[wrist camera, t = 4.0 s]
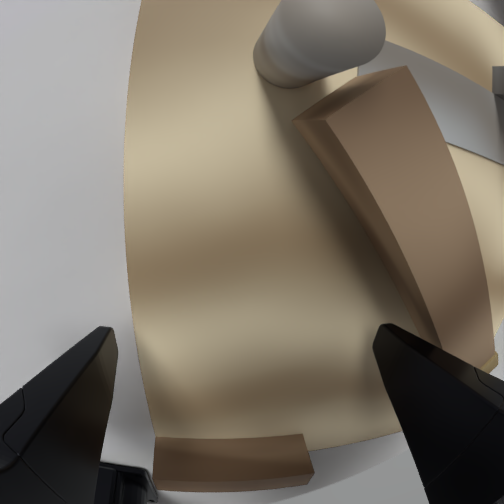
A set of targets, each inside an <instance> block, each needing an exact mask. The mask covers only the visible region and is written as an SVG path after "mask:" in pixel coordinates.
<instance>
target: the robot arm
mask: <svg viewBox="0 0 504 504" xmlns="http://www.w3.org/2000/svg"><path fill="white" fill-rule="evenodd" d="M372 349H373V353H374V356H375V359H376V362H377V365H378V368H379V371H380V375H381V378H382V381H383V384H384V387H385V389H386V392H387V394H388V397H389V399H390V401H391V404H392V406H393V408H394V411H395V413H396V416H397V418H398V421H399V423H400V425H401V428H402V430H403V433H404V435H405V438H406V441H407V443H408V446H409V448H410V451H411V453H412V456H413V459H414V461H415V464H416V467H417V469H418V472H419V475H420V478H421V481H422V483H423V486H424V487H425V488H424V490H425V492H426V495H427V498H428V501H429V504H504V381H503V380H501V379H499V378H496V377H494V376H492V375H490V374H488V373H486V372H484V371H482V370H480V369H479V368H477V367H473V365H471V364H469V363H467V362H465V361H463V360H461V359H459V358H458V357H456V356H454V355H452V354H450V353H448V352H446V351H444V350H442V349H440V348H439V347H437V346H435V345H433V344H431V343H429V342H427V341H425V340H423V339H421V338H420V337H418V336H416V335H414V334H412V333H410V332H408V331H406V330H404V329H402V328H401V327H399V326H397V325H395V324H393V323H385V324H381V325H380V326H379V328H378V330H377V333H376V336H375V338H374V341H373V345H372ZM117 360H118V347H117V343H116V338H115V334H114V330H113V328H111V327H104V326H99V327H98V328H96V329H95V330H94V331H92V332H91V333H90V334H88V335H87V336H86V337H84V338H83V339H82V340H81V341H79V342H78V343H77V344H75V345H74V346H73V347H72V348H70V349H69V350H68V351H66V352H65V353H64V354H63V355H61V356H60V357H59V358H58V359H56V360H55V361H54V362H52V363H51V364H50V365H49V366H47V367H46V368H45V369H44V370H42V371H41V372H40V373H39V374H37V375H36V376H35V377H34V378H32V379H31V380H30V381H29V382H27V383H26V384H25V385H24V386H23V387H22V388H23V389H22V388H20V389H19V390H17V391H16V392H15V393H14V394H13V395H11V396H10V397H9V398H7V399H6V400H5V401H4V402H2V403H1V404H0V504H147V502H151V503H157V502H158V497H157V495H156V493H155V491H154V488H153V486H152V484H151V482H150V480H149V477H148V475H147V473H146V471H144V470H142V469H138V468H130V467H123V466H116V465H110V464H104V463H100V458H101V453H102V447H103V442H104V437H105V432H106V427H107V423H108V418H109V413H110V409H111V404H112V399H113V392H114V383H115V375H116V367H117Z"/></svg>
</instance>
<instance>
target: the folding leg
mask: <svg viewBox="0 0 504 504" xmlns="http://www.w3.org/2000/svg"><path fill="white" fill-rule="evenodd" d="M291 121H292V123H293V124H294V125H295V127H296V128H297V129H298V131H299V132H300V133H301V135H302V136H303V138H304V139H305V140H306V142H307V143H308V145H309V146H310V147H311V149H312V150H313V152H314V153H315V155H316V156H317V157H318V159H319V160H320V162H321V163H322V165H323V166H324V168H325V169H326V171H327V172H328V174H329V175H330V177H331V178H332V180H333V181H334V183H335V184H336V186H337V187H338V189H339V190H340V192H341V193H342V195H343V197H344V198H345V200H346V201H347V203H348V204H349V206H350V208H351V209H352V211H353V212H354V214H355V216H356V217H357V219H358V221H359V222H360V224H361V226H362V227H363V229H364V231H365V232H366V234H367V236H368V237H369V239H370V241H371V243H372V244H373V246H374V248H375V250H376V251H377V253H378V255H379V257H380V259H381V260H382V262H383V264H384V266H385V268H386V269H387V271H388V273H389V275H390V277H391V279H392V281H393V283H394V284H395V286H396V288H397V290H398V292H399V294H400V296H401V298H402V300H403V302H404V304H405V306H406V308H407V310H408V312H409V314H410V316H411V318H412V320H413V323H414V325H415V327H416V329H417V331H418V333H419V335H420V338H421V339H423V340H425V341H427V342H429V343H431V344H433V345H435V346H437V347H439V348H440V349H442V350H444V351H446V352H448V353H450V354H452V355H454V356H456V357H458V358H459V359H461V360H463V361H465V362H467V363H469V364H471V365H473V367H477V368H479V369H480V370H482V371H484V372H486V373H488V374H489V373H490V372H491V371H492V370H493V369H494V368H495V367H496V366H497V365H498V354H497V353H496V352H495V346H494V333H493V322H492V313H491V305H490V298H489V291H488V285H487V279H486V274H485V268H484V263H483V258H482V254H481V249H480V245H479V241H478V237H477V233H476V229H475V225H474V222H473V218H472V215H471V211H470V208H469V204H468V201H467V198H466V195H465V192H464V189H463V186H462V183H461V180H460V177H459V175H458V172H457V169H456V166H455V164H454V161H453V159H452V156H451V154H450V151H449V149H448V146H447V144H446V142H445V139H444V137H443V135H442V132H441V130H440V128H439V126H438V124H437V121H436V119H435V117H434V115H433V113H432V111H431V109H430V107H429V105H428V103H427V101H426V99H425V97H424V95H423V93H422V92H421V90H420V88H419V86H418V84H417V82H416V81H415V79H414V77H413V75H412V74H411V72H410V70H409V69H408V67H407V65H405V66H400V67H395V68H391V69H386V70H382V71H377V72H373V73H369V74H365V75H361V76H357V77H354V78H353V79H351V80H350V81H348V82H347V83H345V84H344V85H342V86H341V87H339V88H338V89H336V90H335V91H333V92H332V93H330V94H329V95H327V96H326V97H324V98H323V99H321V100H320V101H318V102H317V103H315V104H314V105H312V106H311V107H310V108H308V109H307V110H305V111H304V112H302V113H301V114H300V115H298V116H297V117H295V118H294V119H293V120H291Z"/></svg>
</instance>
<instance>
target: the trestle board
mask: <svg viewBox="0 0 504 504" xmlns="http://www.w3.org/2000/svg"><path fill="white" fill-rule="evenodd" d="M405 65H407V67H408V69H409V70H410V72H411V74H412V75H413V77H414V79H415V81H416V82H417V84H418V86H419V88H420V90H421V92H422V93H423V95H424V97H425V99H426V101H427V103H428V105H429V107H430V109H431V111H432V113H433V115H434V117H435V119H436V121H437V124H438V126H439V128H440V130H441V132H442V135H443V137H444V139H445V142H446V144H447V146H448V149H449V151H450V154H451V156H452V159H453V161H454V164H455V166H456V169H457V172H458V175H459V177H460V180H461V183H462V186H463V189H464V192H465V195H466V198H467V201H468V204H469V208H470V211H471V215H472V218H473V222H474V225H475V229H476V233H477V237H478V241H479V245H480V249H481V254H482V258H483V263H484V268H485V274H486V279H487V285H488V291H489V298H490V305H491V313H492V322H493V333H494V337H495V335H496V333H497V331H498V329H499V327H500V324H501V322H502V320H503V318H504V27H503V26H502V25H501V24H500V23H498V22H497V21H496V20H495V19H493V18H492V17H491V16H490V15H488V14H487V13H486V12H484V11H483V10H482V9H480V8H479V7H477V6H476V5H475V4H473V3H472V2H470V1H469V0H142V1H141V6H140V11H139V16H138V21H137V27H136V33H135V39H134V45H133V52H132V60H131V67H130V76H129V85H128V95H127V107H126V122H125V141H124V224H125V244H126V259H127V272H128V282H129V292H130V301H131V310H132V318H133V325H134V332H135V339H136V345H137V351H138V357H139V363H140V368H141V374H142V379H143V384H144V389H145V394H146V398H147V403H148V407H149V412H150V416H151V420H152V424H153V428H154V432H155V436H156V437H155V448H154V461H153V476H152V479H153V482H154V484H155V486H156V489H157V490H165V491H181V492H240V491H256V490H268V489H277V488H285V487H293V486H300V485H306V484H308V482H309V481H310V479H311V478H312V476H313V475H314V470H313V466H312V463H311V460H310V456H309V453H308V451H314V450H320V449H326V448H332V447H337V446H342V445H347V444H352V443H357V442H361V441H366V440H370V439H374V438H378V437H382V436H385V435H389V434H393V433H396V432H400V431H403V430H402V428H401V425H400V423H399V421H398V418H397V416H396V413H395V411H394V408H393V406H392V404H391V401H390V399H389V397H388V394H387V392H386V389H385V387H384V384H383V381H382V378H381V375H380V371H379V368H378V365H377V362H376V359H375V356H374V353H373V349H372V345H373V341H374V338H375V336H376V333H377V330H378V328H379V326H380V325H381V324H385V323H393V324H395V325H397V326H399V327H401V328H402V329H404V330H406V331H408V332H410V333H412V334H414V335H416V336H418V337H420V335H419V333H418V331H417V329H416V327H415V325H414V323H413V320H412V318H411V316H410V314H409V312H408V310H407V308H406V306H405V304H404V302H403V300H402V298H401V296H400V294H399V292H398V290H397V288H396V286H395V284H394V283H393V281H392V279H391V277H390V275H389V273H388V271H387V269H386V268H385V266H384V264H383V262H382V260H381V259H380V257H379V255H378V253H377V251H376V250H375V248H374V246H373V244H372V243H371V241H370V239H369V237H368V236H367V234H366V232H365V231H364V229H363V227H362V226H361V224H360V222H359V221H358V219H357V217H356V216H355V214H354V212H353V211H352V209H351V208H350V206H349V204H348V203H347V201H346V200H345V198H344V197H343V195H342V193H341V192H340V190H339V189H338V187H337V186H336V184H335V183H334V181H333V180H332V178H331V177H330V175H329V174H328V172H327V171H326V169H325V168H324V166H323V165H322V163H321V162H320V160H319V159H318V157H317V156H316V155H315V153H314V152H313V150H312V149H311V147H310V146H309V145H308V143H307V142H306V140H305V139H304V138H303V136H302V135H301V133H300V132H299V131H298V129H297V128H296V127H295V125H294V124H293V123H292V121H291V120H293V119H294V118H295V117H297V116H298V115H300V114H301V113H302V112H304V111H305V110H307V109H308V108H310V107H311V106H312V105H314V104H315V103H317V102H318V101H320V100H321V99H323V98H324V97H326V96H327V95H329V94H330V93H332V92H333V91H335V90H336V89H338V88H339V87H341V86H342V85H344V84H345V83H347V82H348V81H350V80H351V79H353V78H354V77H357V76H361V75H365V74H369V73H373V72H377V71H382V70H386V69H391V68H395V67H400V66H405Z"/></svg>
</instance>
